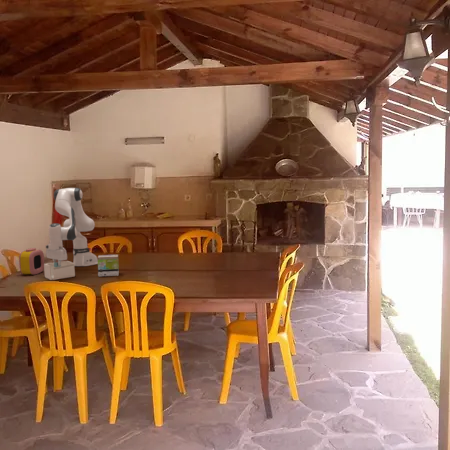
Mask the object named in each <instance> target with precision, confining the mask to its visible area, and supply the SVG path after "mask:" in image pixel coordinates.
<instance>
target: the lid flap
mask: <svg viewBox="0 0 450 450" xmlns="http://www.w3.org/2000/svg"><path fill="white" fill-rule="evenodd" d="M53 263H54V262H53ZM57 263H58V261H56V262H55V263H54V267H53V275H54V280H53V281H55V280H60V278H61V279H66V278H65V277H68V278H71V277H70V276H74V275H75V276H76V273H75V274H74V268H75V266H74V263H73V264H67V265H62V266H61V265H60V266H58V265H57ZM75 276H74V277H75Z"/></svg>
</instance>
